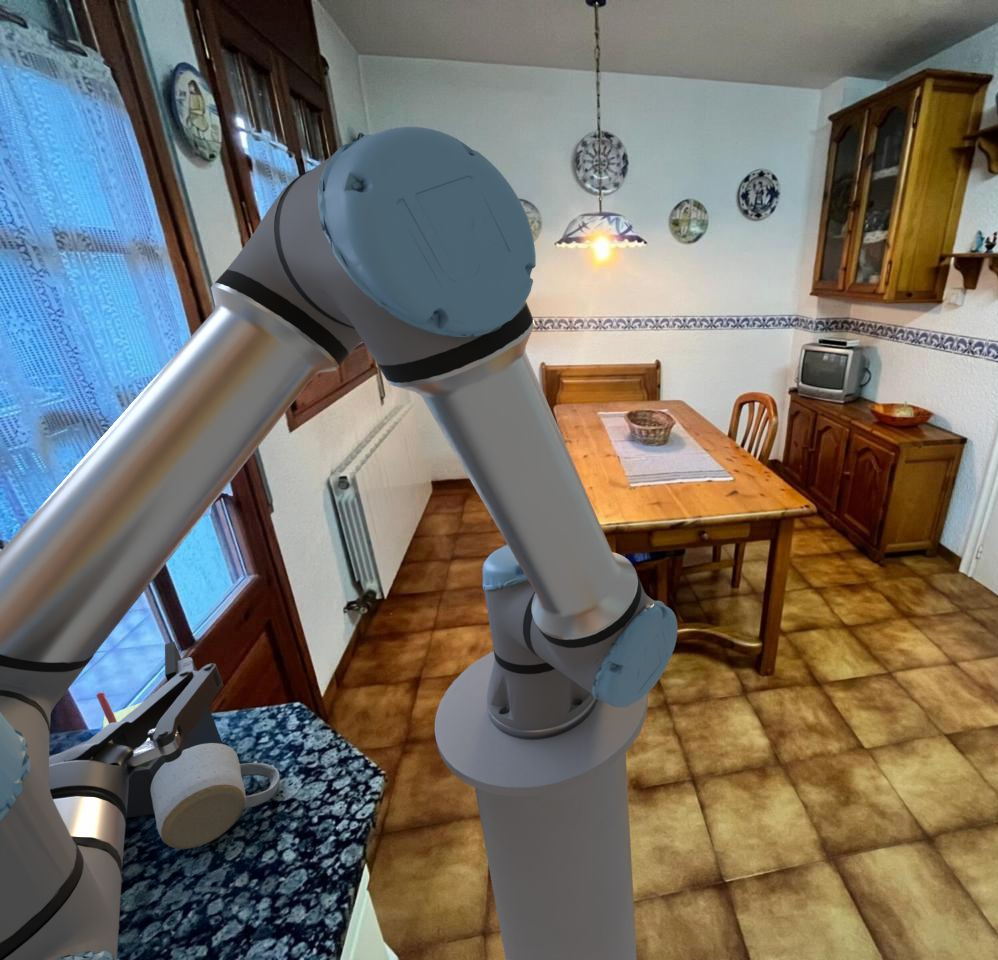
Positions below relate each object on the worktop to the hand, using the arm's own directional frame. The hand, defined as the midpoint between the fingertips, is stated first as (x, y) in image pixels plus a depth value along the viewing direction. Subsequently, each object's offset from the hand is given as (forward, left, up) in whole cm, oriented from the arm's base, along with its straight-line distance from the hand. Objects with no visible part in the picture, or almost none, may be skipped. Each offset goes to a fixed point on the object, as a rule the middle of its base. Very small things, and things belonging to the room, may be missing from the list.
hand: (82, 685), depth 50 cm
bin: (+5, -8, -20) cm, 22 cm away
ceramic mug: (-6, -2, -21) cm, 22 cm away
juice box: (+5, -8, -20) cm, 22 cm away
